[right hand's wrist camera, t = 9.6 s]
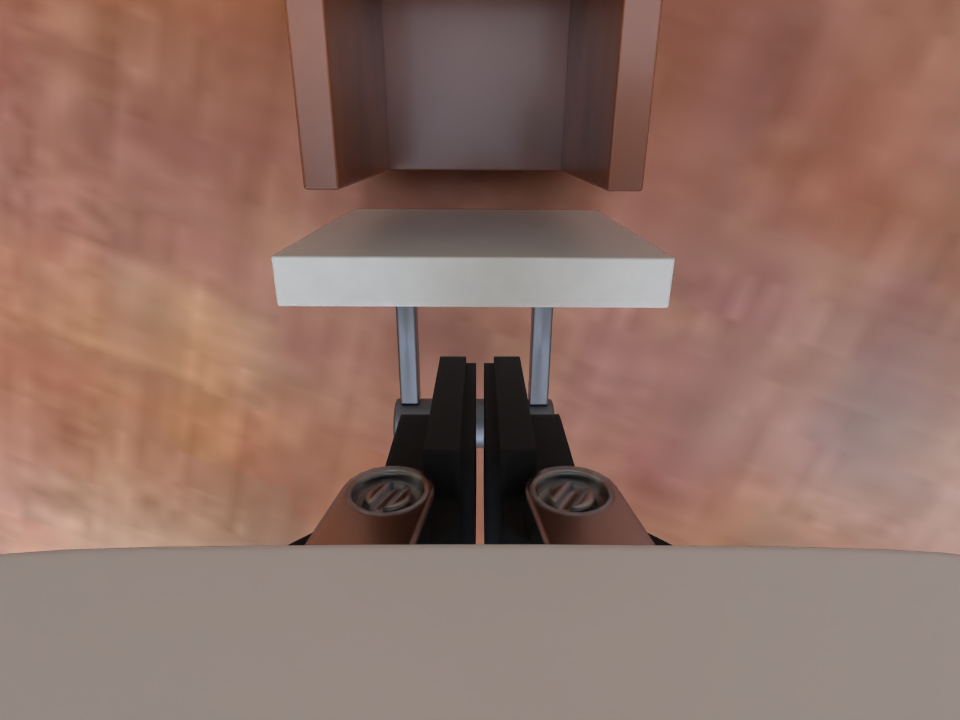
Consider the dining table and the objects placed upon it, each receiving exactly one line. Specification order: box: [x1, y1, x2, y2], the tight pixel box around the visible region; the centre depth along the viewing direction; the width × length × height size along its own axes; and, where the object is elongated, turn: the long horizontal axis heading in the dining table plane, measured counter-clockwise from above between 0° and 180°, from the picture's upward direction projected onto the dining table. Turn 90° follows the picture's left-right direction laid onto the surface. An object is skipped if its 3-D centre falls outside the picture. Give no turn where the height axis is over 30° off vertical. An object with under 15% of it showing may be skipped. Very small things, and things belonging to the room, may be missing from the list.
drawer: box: [271, 0, 675, 448], centre depth 16 cm, size 24×9×9 cm, turn 0°
